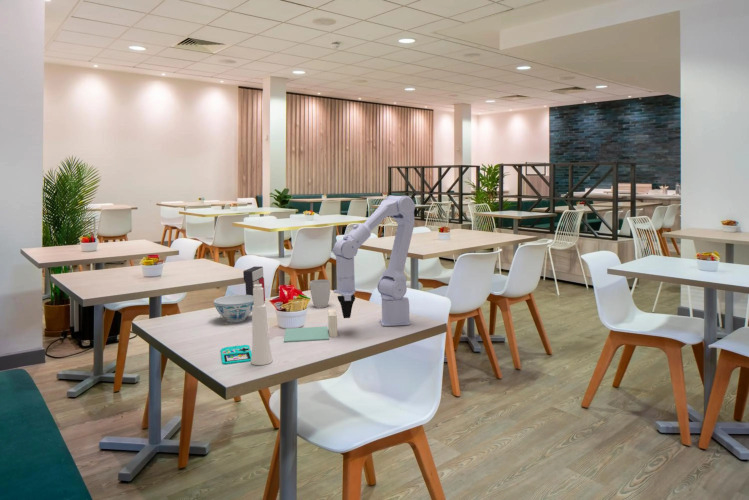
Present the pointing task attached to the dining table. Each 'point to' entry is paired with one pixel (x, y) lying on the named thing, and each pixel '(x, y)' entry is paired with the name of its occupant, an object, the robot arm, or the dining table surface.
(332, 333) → the card box
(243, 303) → the chinaware
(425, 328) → the dining table surface
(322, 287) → the cup
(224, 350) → the handheld gaming console
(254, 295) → the cosmetic bottle
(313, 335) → the mat
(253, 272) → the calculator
